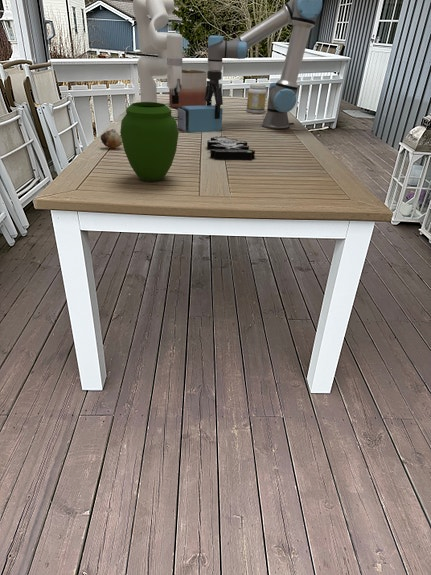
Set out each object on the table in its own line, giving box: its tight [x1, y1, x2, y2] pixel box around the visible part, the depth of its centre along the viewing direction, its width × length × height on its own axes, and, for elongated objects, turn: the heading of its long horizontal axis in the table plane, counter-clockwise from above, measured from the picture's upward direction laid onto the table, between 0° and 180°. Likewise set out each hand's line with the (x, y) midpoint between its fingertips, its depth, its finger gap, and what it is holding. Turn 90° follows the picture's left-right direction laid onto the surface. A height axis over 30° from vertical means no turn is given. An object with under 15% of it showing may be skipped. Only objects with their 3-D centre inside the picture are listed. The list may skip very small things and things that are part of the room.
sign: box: [206, 135, 256, 161], centre depth 185 cm, size 19×3×30 cm
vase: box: [119, 101, 179, 182], centre depth 140 cm, size 20×20×24 cm
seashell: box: [100, 128, 123, 149], centre depth 178 cm, size 10×6×8 cm, turn 91°
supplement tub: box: [246, 83, 267, 114], centre depth 274 cm, size 12×12×17 cm
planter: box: [168, 69, 208, 109], centre depth 278 cm, size 25×25×22 cm
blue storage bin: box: [182, 104, 223, 133], centre depth 220 cm, size 19×10×11 cm, turn 115°
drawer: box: [173, 108, 189, 131], centre depth 217 cm, size 24×9×9 cm, turn 115°
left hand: (175, 103), depth 209 cm, fingers closed
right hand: (212, 116), depth 222 cm, fingers closed on blue storage bin, 10 cm apart
